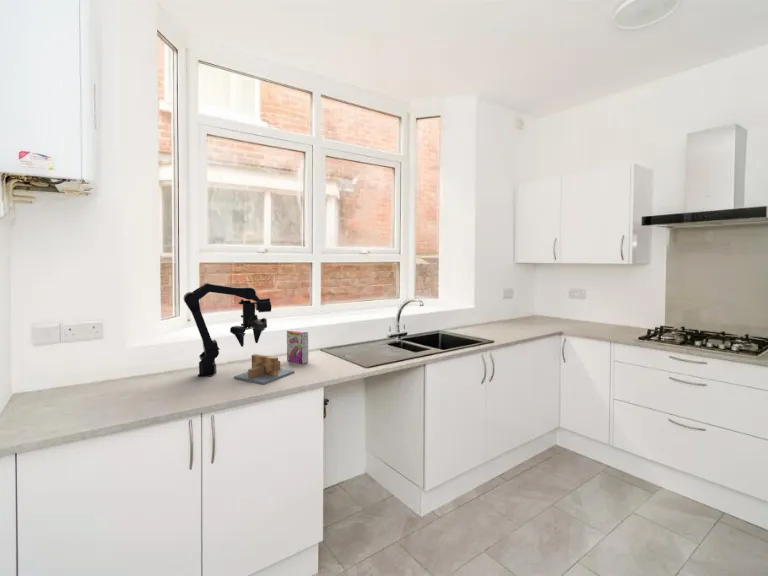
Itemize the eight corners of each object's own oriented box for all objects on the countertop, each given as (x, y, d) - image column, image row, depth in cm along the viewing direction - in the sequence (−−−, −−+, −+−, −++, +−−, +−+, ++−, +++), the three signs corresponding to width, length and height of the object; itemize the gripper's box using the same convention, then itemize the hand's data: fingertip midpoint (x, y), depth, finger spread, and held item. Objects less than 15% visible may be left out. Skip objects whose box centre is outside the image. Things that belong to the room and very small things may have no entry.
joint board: (263, 384, 174) (263, 373, 173) (234, 378, 182) (233, 367, 181) (294, 372, 191) (294, 362, 191) (265, 367, 200) (265, 357, 199)
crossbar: (251, 371, 189) (251, 355, 188) (255, 370, 191) (255, 354, 190) (274, 376, 182) (274, 358, 182) (278, 374, 184) (278, 357, 184)
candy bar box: (286, 361, 212) (286, 330, 211) (293, 359, 216) (293, 329, 215) (302, 364, 206) (301, 332, 205) (308, 362, 210) (308, 331, 209)
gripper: (246, 316, 183) (247, 350, 184) (275, 311, 199) (275, 343, 201) (229, 315, 188) (229, 347, 189) (258, 310, 205) (258, 340, 206)
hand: (249, 344), depth 196 cm, fingers open, 9 cm apart
